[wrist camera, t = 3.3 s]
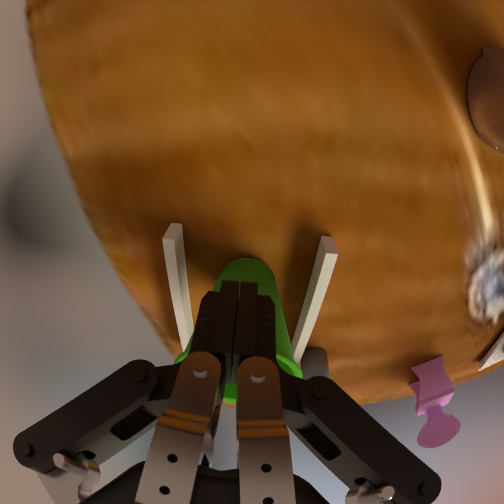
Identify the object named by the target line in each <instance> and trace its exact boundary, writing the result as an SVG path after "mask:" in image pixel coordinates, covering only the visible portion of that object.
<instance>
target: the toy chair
mask: <svg viewBox="0 0 504 504" xmlns="http://www.w3.org/2000/svg"><path fill="white" fill-rule="evenodd" d="M411 369H412V370H413V371H414V372H415V373H416V375H417V376H418V377H419V380H420V381H417V382H415V383H412V384H409V386H410V388H411V389H412V390H413V391H414V392H415V394H416V397H417V403H416V413H417V416H418V415H420V414H423V413H425V412H426V414H427V419H428V421H427V423H426V424H425V425H424V426H423V427H422V429H421V431H420V432H419V434H418V437H417V442H418V444H419V445H420V446H422V447H425V448H434V447H439V446H441V445H443V444H445V443H447V442H448V441H450V440H451V439H452V438H453V437H454V436H455V435H456V434H457V433H458V431H459V429H460V422H459V421H458V419H457V418H455V417H454V416H453V415H447V414H443V411H442V407H441V406H443V405H446V404H448V403H449V401H450V399H451V397H452V396H453V394H454V393H455V390H454V385H453V383H452V381H451V380H450V379H449V377H448V376H447V374H446V373H445V371H444V367H443V355H442V356H440V357H438V358H435V359H433V360H430V361H428V362H425V363H423V364H420V365H417V366H415V367H412V368H411Z"/></svg>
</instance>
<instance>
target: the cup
mask: <svg viewBox="0 0 504 504" xmlns="http://www.w3.org/2000/svg"><path fill="white" fill-rule="evenodd" d="M222 280H234V281H239V293H240V284H241V281H248V282H258V295H269V296H270V297H271V299H272V300H273V302H274V304H275V320H276V324H275V326H276V358H277V362H278V364H279V366H280V367H281V368H282V369H283V370H284V371H285V372H286V373H288V374H290V375H293V376H296V377H299V378H302V379H303V374H302V370H301V368H300V367H299V366H298V365H297V363H296V362H295V360H294V356H293V352H292V347H291V343H290V339H289V335H288V330H287V326H286V322H285V318H284V314H283V310H282V305H281V301H280V297H279V293H278V289H277V285H276V281H275V277H274V274H273V272H272V271H271V269H270V268H269V267H268V266H267V265H266V264H265V263H263V262H261V261H259V260H256V259H252V258H240V259H236V260H234V261H232V262H230V263H229V264H228V265H227V266H225V267H224V268H223V270H222V272H221V273H220V275H219V278H218V280H217V282H216V284H215V286H214V288H213V290H212V291H216V292H220V287H221V282H222ZM193 334H194V331H193V333H192V336H191V338H190V340H189V342H188V344H187V347H186V349H185V351H184V352H183V353H181V354H180V355H179V356H178V357H177V359H176V360H175V363H174V364H176V363H178V362H180V361H182V360H183V359H184V358H185V357H186V356H187V355H188V353H189V351H190V347H191V343H192V338H193ZM236 395H237V385H235V384H233V368H232V379H231V384H225V393H224V399H223V402H228V403H236Z"/></svg>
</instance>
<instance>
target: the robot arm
mask: <svg viewBox="0 0 504 504" xmlns="http://www.w3.org/2000/svg"><path fill="white" fill-rule="evenodd" d="M467 89H468V106H469V112H470V115H471V119H472V122H473V124H474V127H475V129H476V131H477V133H478V134H479V136H480V138H481V139H482V140H483V141H484V142H485V143H486V144H487V145H489V146H490V147H492V148H493V149H495V150H497V151H498V152H500V153H501V154H503V155H504V49H503V48H494V47H483V54H482V57H481V58H480V59H479V60H478V61H477V62H476V63H475V64H474V66H473V68H472V70H471V73H470V76H469V81H468V88H467ZM275 324H276V320H275V304H274V302H273V300H272V299H271V297H270V296H269V295H258V282H248V281H241V284H240V293H239V281H234V280H222V282H221V287H220V292H216V291H208V292H207V293H206V295H205V296H204V297H203V298H202V299H201V304H200V308H199V312H198V316H197V321H196V325H195V329H194V334H193V338H192V343H191V347H190V351H189V353H188V355H187V356H186V357H185V358H184V359H183V360H182V361H180V362H178V363H176V364H173V365H167V366H160V367H155V366H154V365H153V364H152V363H151V362H149V361H147V360H133V361H131V362H129V363H127V364H126V365H124V366H123V367H122V368H120V369H118V370H117V371H116V372H114V373H112V374H111V375H109V376H108V377H106V378H105V379H103V380H102V381H101V382H99V383H98V384H96V385H94V386H93V387H91V388H90V389H88V390H87V391H85V392H84V393H82V394H81V395H79V396H78V397H76V398H75V399H73V400H71V401H70V402H69V403H67V404H65V405H64V406H62V407H61V408H59V409H58V410H56V411H54V412H53V413H51V414H50V415H48V416H46V417H45V418H43V419H42V420H40V421H39V422H37V423H36V424H34V425H32V426H31V427H29V428H27V429H26V430H24V431H23V432H21V433H19V434H18V435H17V436H16V438H15V439H14V442H13V451H14V455H15V457H16V459H17V460H18V461H19V463H20V464H22V465H23V466H25V467H27V468H30V469H32V470H34V471H35V472H36V473H37V474H38V476H39V478H40V479H41V481H42V483H43V485H44V486H45V488H46V490H47V491H48V493H49V495H50V496H51V498H52V499H53V501H54V502H55V504H330V503H329V502H328V501H327V500H326V499H325V498H324V497H322V495H320V493H319V492H318V491H317V490H316V489H315V488H314V487H313V486H312V485H311V484H310V483H308V482H307V481H306V480H304V479H303V478H301V477H299V476H297V475H295V474H293V468H292V458H291V448H290V438H289V433H288V428H287V427H286V426H288V427H289V429H290V430H291V431H292V432H293V433H294V434H295V435H296V436H297V437H298V438H299V440H300V441H301V442H302V443H304V445H305V446H306V447H307V448H308V449H309V450H310V451H311V452H312V453H313V454H314V455H315V456H316V457H317V458H318V459H319V460H320V461H321V462H322V463H323V464H324V465H325V466H326V467H327V468H328V469H329V470H330V471H331V472H332V473H334V474H335V475H336V476H337V477H338V478H339V479H340V480H341V481H342V482H343V483H344V484H345V485H346V486H348V487H349V488H350V490H349V491H348V493H347V494H346V497H345V504H431V503H432V502H433V501H435V499H436V498H437V497H438V495H439V493H440V491H441V479H440V477H439V476H438V474H436V473H435V472H434V471H433V470H432V469H431V468H429V467H428V466H427V465H426V464H425V463H423V462H422V461H421V460H420V459H419V458H418V457H416V456H415V455H414V454H413V453H412V452H411V451H409V450H408V449H407V448H406V447H405V446H404V445H402V444H401V443H400V442H399V441H398V440H397V439H396V438H395V437H394V436H392V435H391V434H390V433H389V432H388V431H387V430H386V429H384V428H383V427H382V426H381V425H380V424H379V423H378V422H377V421H375V419H373V418H372V417H371V416H370V415H369V414H368V413H367V412H366V411H365V410H364V409H363V408H361V407H360V406H359V405H358V404H357V403H356V402H355V401H354V400H353V399H352V398H351V397H350V396H349V395H348V394H347V393H345V392H344V391H343V390H342V389H341V388H340V387H339V386H338V385H337V384H336V383H335V382H334V381H333V380H331V379H329V378H327V377H324V376H314V377H311V378H309V379H307V380H305V379H302V378H299V377H296V376H293V375H290V374H288V373H286V372H285V371H284V370H283V369H282V368H281V367H280V366H279V364H278V362H277V358H276V326H275ZM232 368H233V384H235V385H237V395H236V431H237V432H236V435H237V469H231V470H225V471H219V470H215V469H212V468H211V465H212V460H213V454H214V444H215V438H216V433H217V428H218V422H219V417H220V412H221V407H222V403H223V399H224V393H225V384H231V379H232ZM155 426H156V427H155ZM153 427H155V431H154V434H153V438H152V441H151V444H150V447H149V451H148V454H147V458H146V461H143V462H140V463H137V464H136V465H133V466H132V467H131V468H129V469H128V470H127V471H125V472H123V473H122V474H121V475H120V476H118V477H117V478H115V479H114V480H112V481H111V482H110V483H108V484H107V485H105V486H104V487H102V488H101V489H100V490H98V491H97V492H95V493H94V494H92V495H91V491H92V488H93V487H94V486H95V485H96V484H97V483H98V482H99V480H100V476H101V473H100V469H99V465H100V464H102V463H103V462H105V461H106V460H108V459H109V458H111V457H112V456H114V455H115V454H117V453H118V452H120V451H121V450H122V449H124V448H125V447H127V446H128V445H130V444H131V443H132V442H134V441H135V440H137V439H138V438H140V437H141V436H142V435H144V434H145V433H146V432H148V431H149V430H150V429H152V428H153Z"/></svg>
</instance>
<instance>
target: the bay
mask: <svg viewBox="0 0 504 504" xmlns="http://www.w3.org/2000/svg"><path fill="white" fill-rule="evenodd" d="M162 242H163V249H164V255H165V262H166V268H167V274H168V280H169V286H170V291H171V296H172V302H173V307H174V312H175V317H176V322H177V326H178V331H179V335H180V340H181V344H182V348H183V352H184V351H185V349H186V347H187V344H188V342H189V340H190V338H191V336H192V333H193V331H194V326H193V319H192V312H191V305H190V297H189V289H188V281H187V272H186V262H185V252H184V241H183V230H182V224H180V223H171V224H170V226H169V228H168V229H167V231H166V233H165V235H164V236H163V238H162ZM337 256H338V253H337V250H336V246H335V243H334V240H333V237H329V236H321V239H320V243H319V247H318V251H317V255H316V259H315V263H314V267H313V271H312V274H311V278H310V282H309V285H308V289H307V293H306V296H305V300H304V303H303V307H302V310H301V314H300V317H299V320H298V324H297V327H296V330H295V333H294V337H293V340H292V343H291V347H292V352H293V356H294V360H295V362H296V363H297V365H299V362H300V363H301V370H302V374H303V379H305V380H307V379H309V378H311V377H314V376H324V377H327V378H329V379H330V375H329V367H328V359H327V352H326V351H325V350H324V349H320V348H312V349H308V350H305V347H306V345H307V342H308V340H309V337H310V335H311V332H312V329H313V327H314V324H315V321H316V318H317V316H318V313H319V310H320V307H321V304H322V302H323V299H324V296H325V293H326V290H327V287H328V284H329V281H330V278H331V275H332V272H333V269H334V265H335V262H336V259H337ZM304 350H305V351H304Z"/></svg>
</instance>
